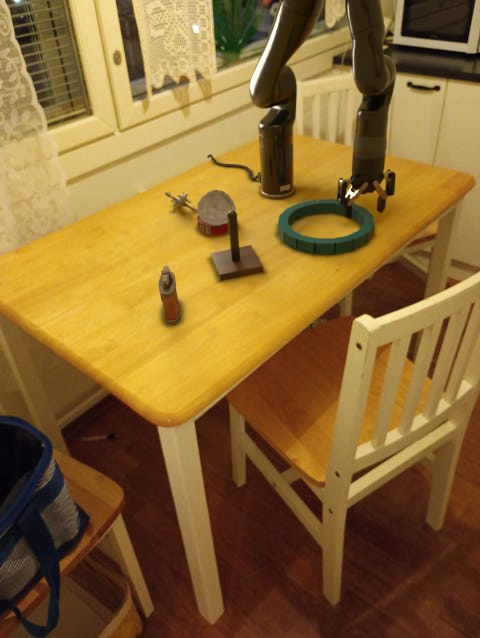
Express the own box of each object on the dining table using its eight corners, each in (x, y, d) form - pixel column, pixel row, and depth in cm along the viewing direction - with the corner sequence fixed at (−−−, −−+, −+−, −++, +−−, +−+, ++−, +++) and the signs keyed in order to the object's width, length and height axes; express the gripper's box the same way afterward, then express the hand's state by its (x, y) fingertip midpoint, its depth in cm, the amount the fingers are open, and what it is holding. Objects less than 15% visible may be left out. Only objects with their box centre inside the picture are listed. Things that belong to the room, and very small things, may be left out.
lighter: (165, 301, 112) (157, 261, 106) (180, 300, 112) (174, 260, 106) (163, 325, 105) (155, 283, 99) (180, 323, 105) (173, 282, 99)
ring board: (210, 258, 124) (204, 205, 116) (251, 250, 126) (247, 197, 118) (220, 280, 117) (214, 225, 108) (263, 272, 118) (260, 216, 110)
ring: (267, 218, 138) (266, 208, 137) (349, 203, 142) (350, 193, 140) (296, 262, 120) (296, 251, 119) (389, 243, 124) (391, 232, 122)
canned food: (235, 235, 142) (250, 206, 135) (218, 250, 134) (233, 220, 128) (201, 212, 143) (215, 182, 136) (182, 225, 135) (196, 194, 129)
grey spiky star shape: (194, 200, 151) (204, 201, 142) (185, 219, 151) (194, 221, 143) (164, 183, 146) (171, 182, 138) (154, 202, 147) (161, 203, 138)
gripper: (389, 141, 126) (383, 203, 136) (334, 150, 124) (331, 213, 134) (405, 151, 120) (397, 216, 130) (347, 161, 118) (343, 226, 128)
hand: (363, 214), depth 132 cm, fingers open, 8 cm apart
